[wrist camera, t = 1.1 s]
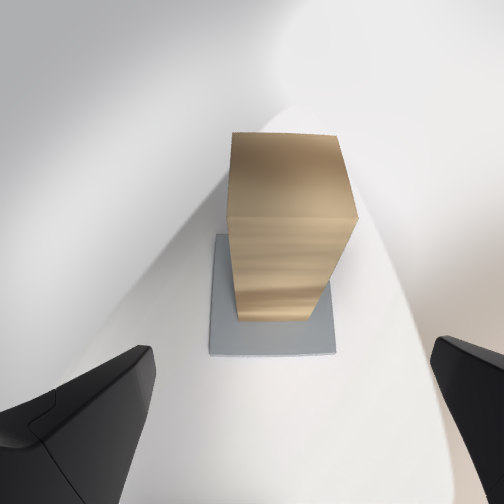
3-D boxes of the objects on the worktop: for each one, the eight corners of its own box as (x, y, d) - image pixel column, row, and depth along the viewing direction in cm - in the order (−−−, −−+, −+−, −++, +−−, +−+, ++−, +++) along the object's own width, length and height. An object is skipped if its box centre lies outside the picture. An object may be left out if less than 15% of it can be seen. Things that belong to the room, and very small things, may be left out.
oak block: (307, 320, 22) (358, 218, 11) (238, 321, 22) (226, 216, 11) (302, 260, 25) (336, 136, 14) (239, 260, 25) (232, 132, 14)
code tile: (334, 354, 22) (336, 352, 21) (210, 356, 22) (209, 354, 21) (322, 238, 27) (323, 234, 26) (217, 238, 27) (216, 234, 26)
